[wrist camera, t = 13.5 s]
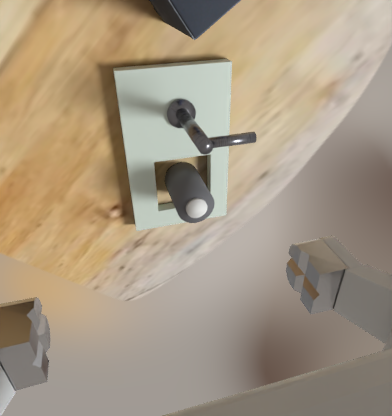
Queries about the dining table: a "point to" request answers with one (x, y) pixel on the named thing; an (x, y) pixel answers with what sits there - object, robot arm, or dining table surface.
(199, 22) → the small box
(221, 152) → the pale green board
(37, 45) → the dining table surface
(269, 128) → the dining table surface
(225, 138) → the grey angled rod part
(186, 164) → the grey cylinder with ball
